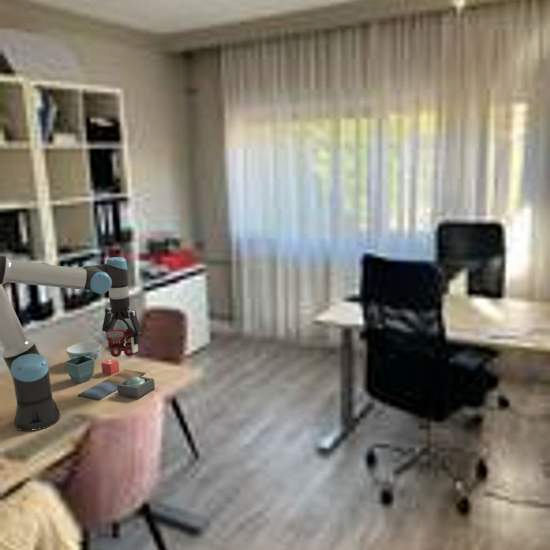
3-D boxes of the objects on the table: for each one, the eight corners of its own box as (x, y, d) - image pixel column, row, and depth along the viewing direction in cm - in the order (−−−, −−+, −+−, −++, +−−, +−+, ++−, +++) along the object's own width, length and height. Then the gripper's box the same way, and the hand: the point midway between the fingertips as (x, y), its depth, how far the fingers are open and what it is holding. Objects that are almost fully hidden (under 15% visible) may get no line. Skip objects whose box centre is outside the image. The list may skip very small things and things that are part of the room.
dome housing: (138, 399, 221) (137, 388, 220) (118, 395, 225) (116, 384, 224) (154, 389, 230) (153, 378, 229) (134, 385, 234) (133, 375, 233)
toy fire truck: (139, 355, 229) (137, 330, 227) (107, 358, 227) (104, 332, 225) (140, 350, 236) (138, 325, 234) (109, 352, 234) (106, 327, 232)
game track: (99, 400, 222) (99, 398, 222) (77, 396, 227) (77, 394, 227) (145, 373, 246) (145, 372, 246) (125, 370, 251) (125, 369, 251)
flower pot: (79, 386, 237) (76, 365, 235) (66, 381, 242) (63, 361, 240) (97, 379, 243) (94, 358, 242) (84, 374, 249) (82, 355, 247)
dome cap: (137, 393, 223) (136, 381, 222) (123, 391, 226) (122, 379, 225) (149, 386, 229) (147, 374, 228) (134, 384, 232) (133, 372, 231)
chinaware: (71, 372, 252) (69, 355, 251) (65, 362, 265) (63, 346, 264) (106, 364, 259) (104, 348, 258) (99, 355, 272) (97, 339, 271)
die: (111, 375, 246) (110, 364, 245) (102, 374, 249) (101, 362, 248) (119, 371, 251) (118, 360, 250) (110, 369, 253) (109, 358, 252)
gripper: (149, 297, 225) (152, 351, 230) (102, 292, 235) (107, 343, 240) (136, 301, 219) (140, 356, 223) (89, 296, 229) (94, 349, 233)
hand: (123, 350), depth 231 cm, fingers closed on toy fire truck, 11 cm apart
